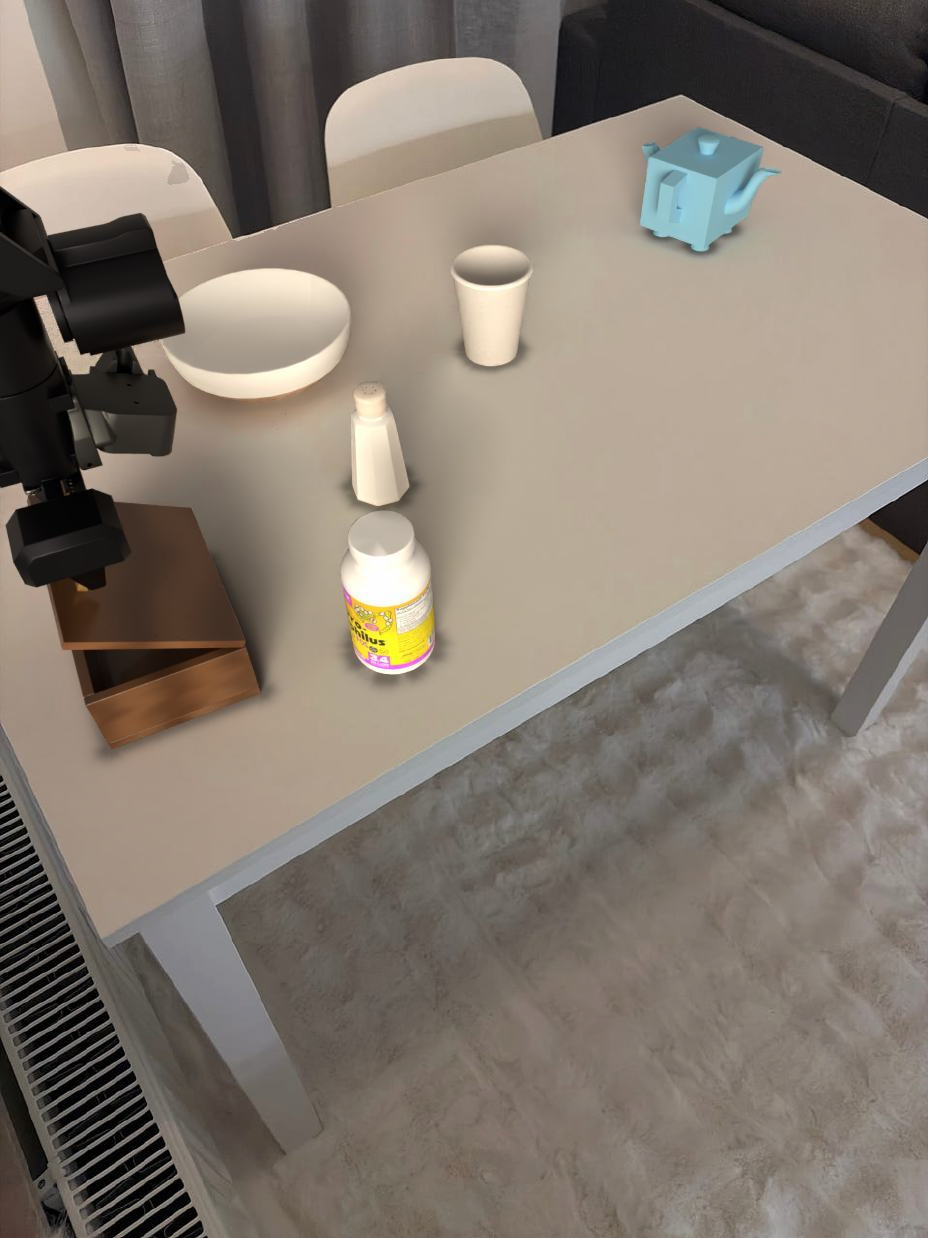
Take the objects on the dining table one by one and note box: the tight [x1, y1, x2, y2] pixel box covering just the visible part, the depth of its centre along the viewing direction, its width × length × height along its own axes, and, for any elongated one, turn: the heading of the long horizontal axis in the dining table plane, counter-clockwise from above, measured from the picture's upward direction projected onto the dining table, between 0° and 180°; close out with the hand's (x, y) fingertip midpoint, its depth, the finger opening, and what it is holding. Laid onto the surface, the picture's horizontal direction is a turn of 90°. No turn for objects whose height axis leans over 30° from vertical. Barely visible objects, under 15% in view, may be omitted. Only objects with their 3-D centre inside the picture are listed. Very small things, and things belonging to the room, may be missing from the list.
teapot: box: [639, 126, 782, 252], centre depth 110 cm, size 16×18×11 cm
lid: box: [26, 492, 247, 651], centre depth 66 cm, size 12×16×5 cm
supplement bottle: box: [339, 510, 436, 675], centre depth 69 cm, size 7×7×13 cm
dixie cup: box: [449, 244, 534, 367], centre depth 96 cm, size 8×8×10 cm
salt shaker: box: [350, 381, 410, 507], centre depth 82 cm, size 5×5×11 cm
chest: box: [71, 643, 262, 750], centre depth 72 cm, size 12×16×6 cm
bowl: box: [159, 267, 352, 402], centre depth 96 cm, size 20×20×6 cm
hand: (90, 557), depth 65 cm, fingers closed on lid, 6 cm apart
